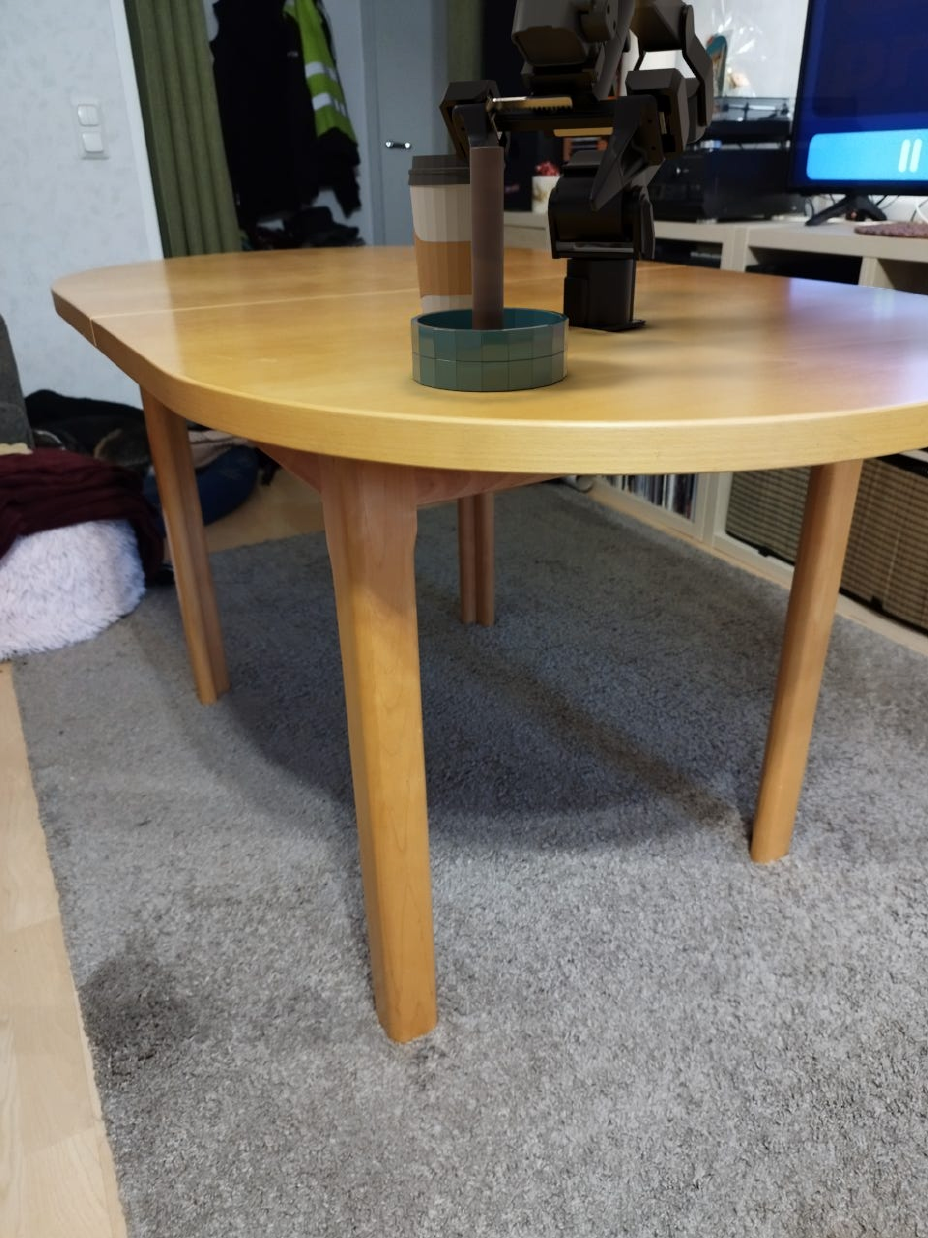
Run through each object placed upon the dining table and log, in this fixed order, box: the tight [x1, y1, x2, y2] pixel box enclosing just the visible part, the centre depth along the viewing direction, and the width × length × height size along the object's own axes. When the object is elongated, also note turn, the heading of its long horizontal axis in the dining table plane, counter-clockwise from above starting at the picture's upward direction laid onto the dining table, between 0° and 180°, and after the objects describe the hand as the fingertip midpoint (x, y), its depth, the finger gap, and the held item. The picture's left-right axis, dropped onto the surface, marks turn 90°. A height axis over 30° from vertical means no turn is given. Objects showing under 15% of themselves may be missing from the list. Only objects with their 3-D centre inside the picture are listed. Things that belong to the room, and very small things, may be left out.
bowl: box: [410, 306, 569, 392], centre depth 63 cm, size 11×11×4 cm
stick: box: [470, 147, 505, 330], centre depth 61 cm, size 4×4×14 cm
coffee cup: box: [407, 153, 472, 314], centre depth 82 cm, size 8×8×15 cm
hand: (533, 206), depth 66 cm, fingers open, 9 cm apart
